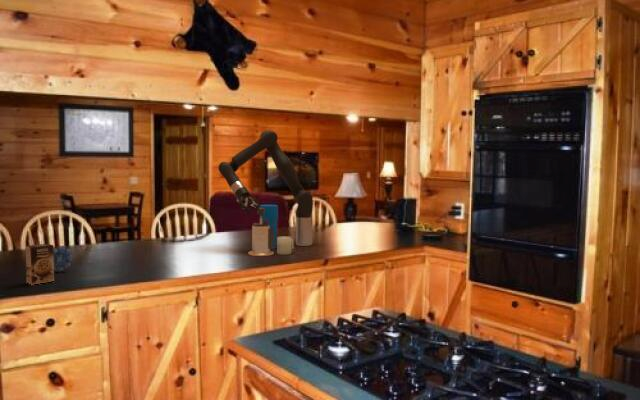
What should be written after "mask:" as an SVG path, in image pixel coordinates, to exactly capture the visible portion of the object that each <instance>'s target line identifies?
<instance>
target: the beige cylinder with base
mask: <svg viewBox="0 0 640 400" xmlns="http://www.w3.org/2000/svg"><path fill="white" fill-rule="evenodd" d="M251 231H252V232H251V236H252V237H251V249H252V250H251V251H248V253H247V254H248V255H249V256H253V257H268V256H273V255H274V254H275V253H274V251H273V250H275V248H274V229H270V225H269V223H262V224H260V222H254V223H252V228H251Z"/></svg>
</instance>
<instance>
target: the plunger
mask: <svg viewBox="0 0 640 400" xmlns="http://www.w3.org/2000/svg"><path fill="white" fill-rule="evenodd" d="M262 214H265V208H258V212H257V215H259V223H260V224H262Z"/></svg>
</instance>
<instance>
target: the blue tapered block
mask: <svg viewBox="0 0 640 400" xmlns="http://www.w3.org/2000/svg"><path fill="white" fill-rule="evenodd" d="M259 207H260V208H265V214H262V223H269V225H270V229H274V249H277V237H279V234H278V233H279V205H277V204H260V205H259Z"/></svg>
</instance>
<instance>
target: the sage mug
mask: <svg viewBox="0 0 640 400" xmlns="http://www.w3.org/2000/svg"><path fill="white" fill-rule="evenodd" d="M294 243H295V242H294V239H293V238H292V236H289V235H288V236H284V235H282V236H280V235H279V236H278V237H277V248H276V254H277V255H291V254H292V250H294Z"/></svg>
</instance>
